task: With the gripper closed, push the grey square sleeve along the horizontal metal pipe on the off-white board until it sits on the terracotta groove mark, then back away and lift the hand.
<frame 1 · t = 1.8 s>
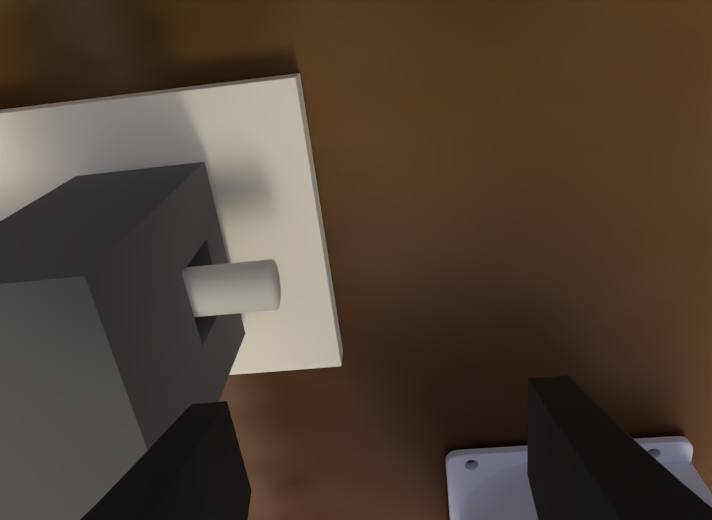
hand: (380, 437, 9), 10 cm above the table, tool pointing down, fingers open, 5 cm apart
grey square sleeve: (116, 320, 15), point 5 cm above the table, slide at 0.0 cm
pipe stand: (43, 254, 20), on the table
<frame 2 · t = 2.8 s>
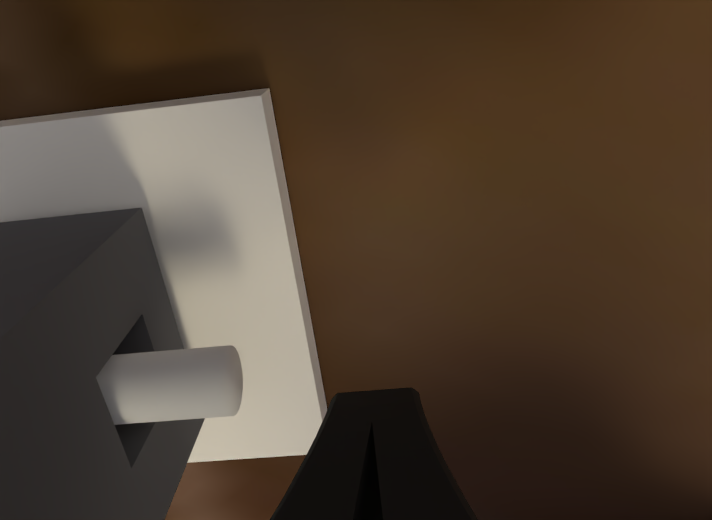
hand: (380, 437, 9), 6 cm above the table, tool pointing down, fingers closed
grey square sleeve: (8, 438, 11), point 5 cm above the table, slide at 0.0 cm
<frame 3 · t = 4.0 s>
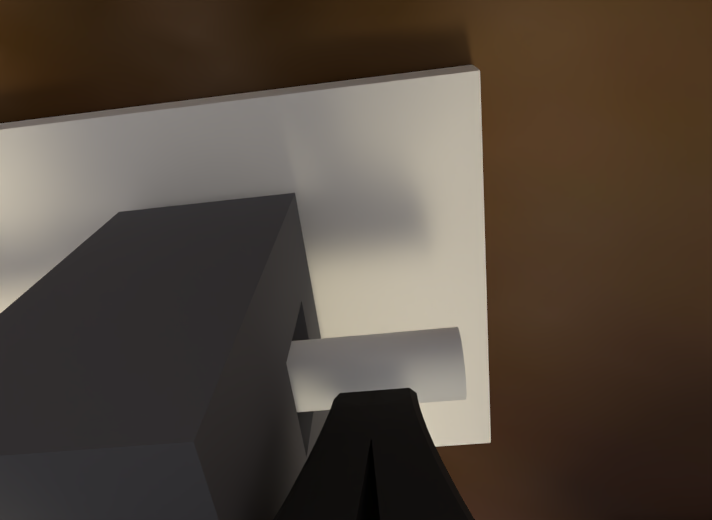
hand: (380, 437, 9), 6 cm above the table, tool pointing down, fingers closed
grey square sleeve: (188, 426, 10), point 5 cm above the table, slide at 1.1 cm, touching gripper
pipe stand: (108, 302, 15), on the table
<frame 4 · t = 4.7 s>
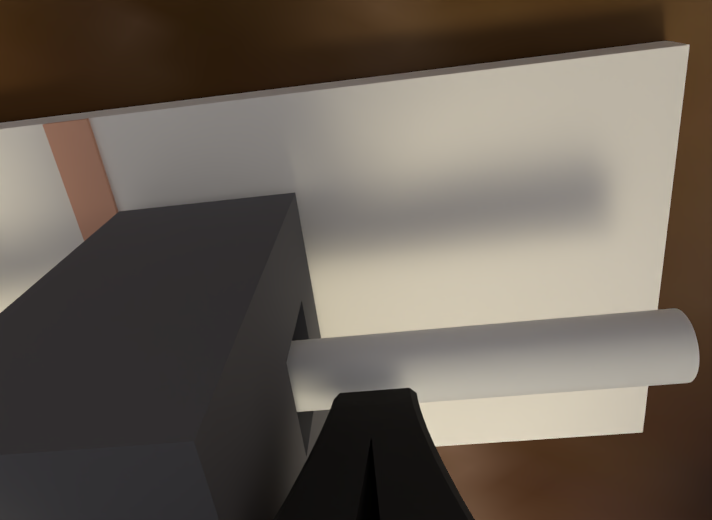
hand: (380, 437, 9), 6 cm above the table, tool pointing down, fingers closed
grey square sleeve: (188, 425, 10), point 5 cm above the table, slide at 5.2 cm, touching gripper
pipe stand: (255, 288, 15), on the table
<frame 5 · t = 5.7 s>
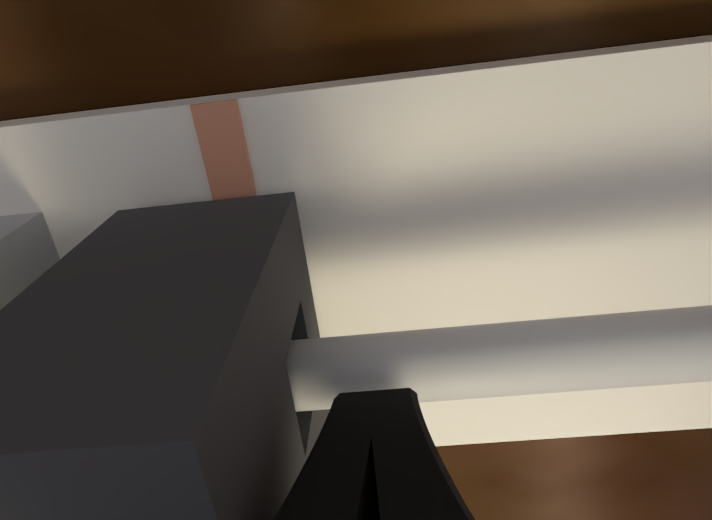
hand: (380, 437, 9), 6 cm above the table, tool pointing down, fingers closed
grey square sleeve: (186, 425, 10), point 5 cm above the table, slide at 8.5 cm, touching gripper
pipe stand: (379, 276, 15), on the table
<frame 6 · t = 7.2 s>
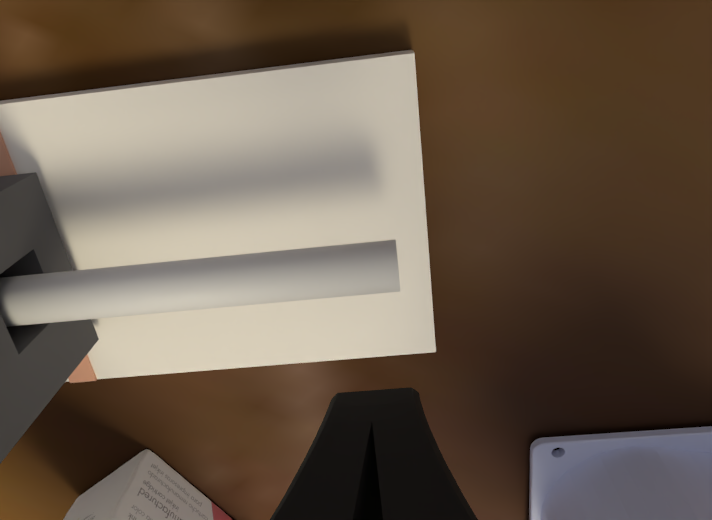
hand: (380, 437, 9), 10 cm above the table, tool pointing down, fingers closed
pipe stand: (133, 238, 19), on the table
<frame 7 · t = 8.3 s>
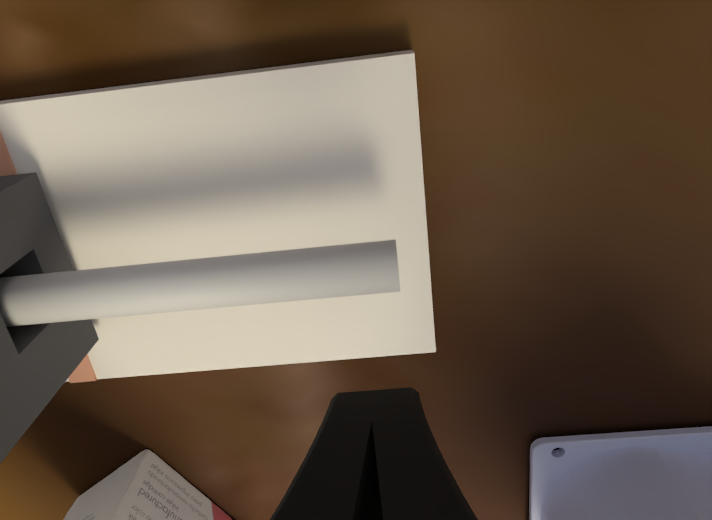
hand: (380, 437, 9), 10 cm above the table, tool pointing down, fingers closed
pipe stand: (133, 238, 19), on the table
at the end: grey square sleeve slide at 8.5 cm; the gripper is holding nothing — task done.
